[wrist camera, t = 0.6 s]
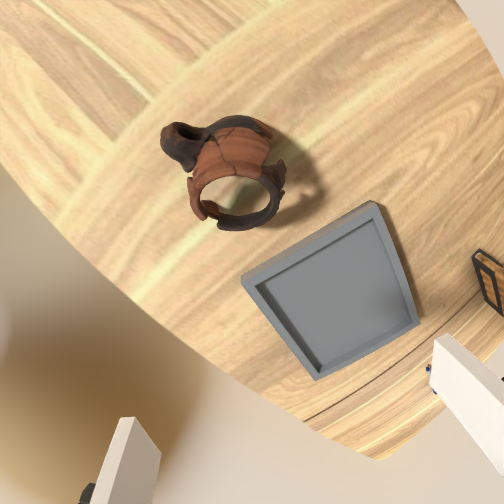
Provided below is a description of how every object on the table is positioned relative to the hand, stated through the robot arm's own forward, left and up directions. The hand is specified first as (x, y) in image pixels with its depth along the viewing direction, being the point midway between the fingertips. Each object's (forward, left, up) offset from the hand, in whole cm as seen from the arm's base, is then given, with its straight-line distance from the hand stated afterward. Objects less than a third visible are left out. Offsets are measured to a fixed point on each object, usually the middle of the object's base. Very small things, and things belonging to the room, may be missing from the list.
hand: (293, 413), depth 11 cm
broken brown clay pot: (-1, -9, -22) cm, 23 cm away
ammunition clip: (-24, +22, -22) cm, 40 cm away
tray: (-3, +11, -22) cm, 25 cm away
